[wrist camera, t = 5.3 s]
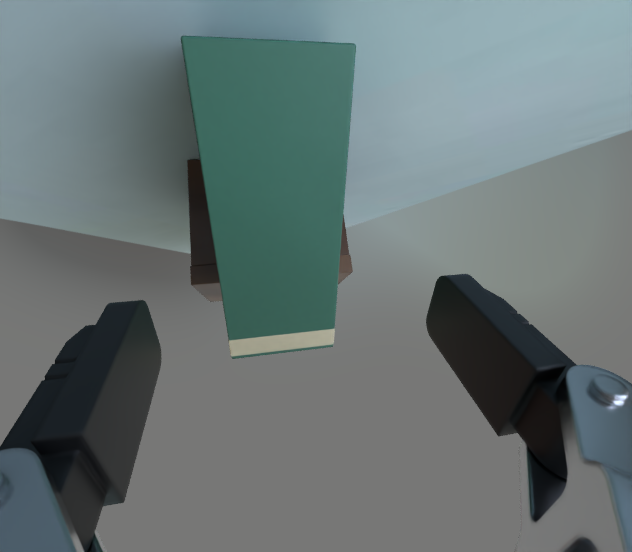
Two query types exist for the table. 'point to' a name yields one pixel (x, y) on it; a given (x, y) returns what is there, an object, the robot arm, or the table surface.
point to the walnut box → (203, 247)
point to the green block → (273, 182)
